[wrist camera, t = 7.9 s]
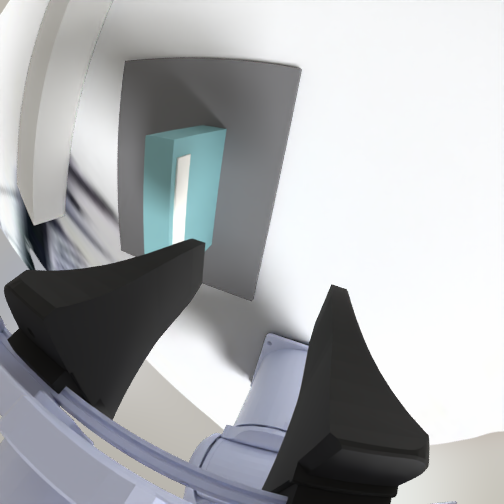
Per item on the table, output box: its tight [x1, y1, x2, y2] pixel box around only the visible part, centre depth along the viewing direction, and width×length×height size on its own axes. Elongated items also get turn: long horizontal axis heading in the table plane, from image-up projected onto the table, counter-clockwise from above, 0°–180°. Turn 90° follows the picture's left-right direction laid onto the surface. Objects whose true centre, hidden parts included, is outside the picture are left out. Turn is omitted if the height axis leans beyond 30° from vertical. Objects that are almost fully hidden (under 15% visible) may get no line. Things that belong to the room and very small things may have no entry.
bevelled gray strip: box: [17, 0, 113, 225], centre depth 18 cm, size 34×5×10 cm
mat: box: [118, 58, 302, 301], centre depth 20 cm, size 18×14×1 cm
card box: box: [143, 125, 227, 254], centre depth 17 cm, size 9×2×6 cm, turn 170°
